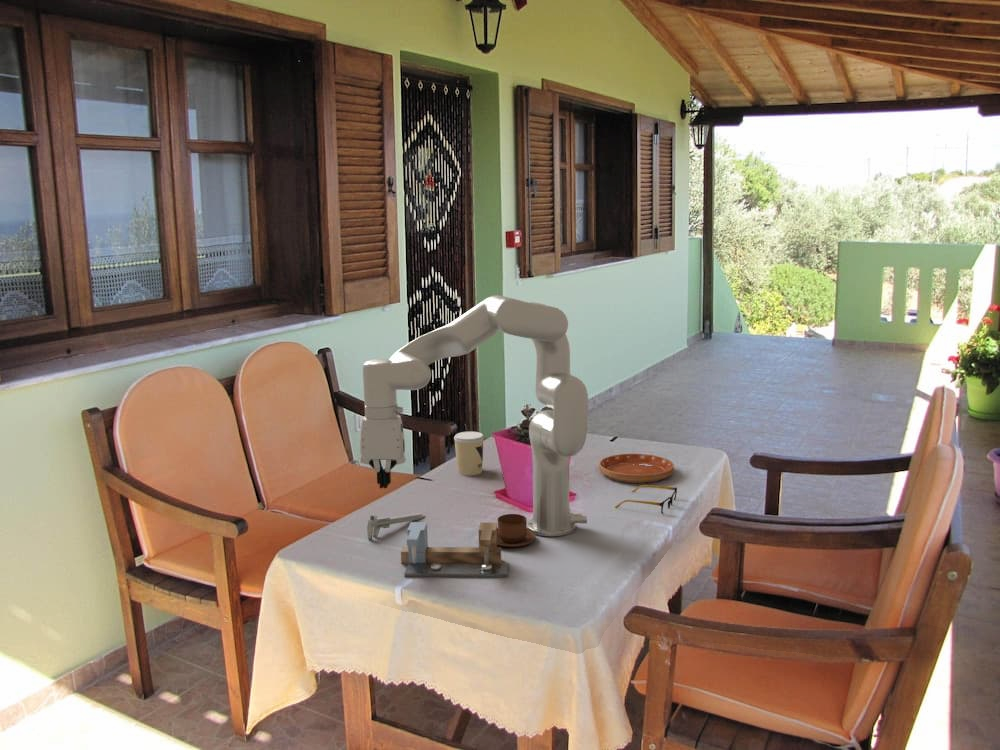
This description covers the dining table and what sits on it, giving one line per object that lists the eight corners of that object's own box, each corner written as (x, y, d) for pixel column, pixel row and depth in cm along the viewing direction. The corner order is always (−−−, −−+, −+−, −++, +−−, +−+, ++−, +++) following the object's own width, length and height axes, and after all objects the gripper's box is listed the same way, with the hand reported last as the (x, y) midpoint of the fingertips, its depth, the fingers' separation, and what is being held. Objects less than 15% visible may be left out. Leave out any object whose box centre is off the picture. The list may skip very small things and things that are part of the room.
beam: (501, 557, 226) (500, 522, 224) (498, 576, 215) (498, 539, 213) (403, 556, 227) (402, 522, 226) (396, 575, 217) (394, 539, 215)
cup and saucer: (480, 538, 238) (480, 516, 237) (520, 529, 244) (520, 507, 243) (503, 554, 228) (503, 531, 227) (544, 544, 234) (544, 521, 233)
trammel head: (428, 555, 227) (426, 522, 225) (421, 574, 216) (420, 539, 214) (412, 555, 227) (410, 522, 225) (404, 574, 217) (403, 539, 215)
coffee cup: (484, 476, 288) (483, 439, 286) (454, 476, 288) (453, 439, 286) (485, 467, 297) (484, 430, 295) (455, 467, 297) (454, 431, 295)
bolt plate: (508, 566, 220) (508, 560, 220) (507, 577, 215) (507, 570, 214) (408, 566, 222) (408, 559, 222) (404, 576, 216) (404, 570, 216)
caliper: (370, 541, 239) (369, 517, 237) (367, 540, 239) (366, 516, 238) (425, 517, 255) (424, 495, 253) (422, 516, 255) (421, 494, 254)
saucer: (600, 462, 300) (600, 451, 299) (672, 464, 297) (672, 453, 296) (597, 485, 278) (597, 473, 277) (675, 487, 275) (675, 475, 274)
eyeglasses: (664, 516, 252) (665, 502, 251) (614, 509, 259) (614, 495, 258) (679, 500, 265) (680, 487, 264) (631, 493, 271) (631, 480, 270)
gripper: (415, 408, 221) (417, 481, 224) (352, 408, 222) (356, 481, 225) (410, 416, 213) (412, 491, 217) (345, 416, 214) (349, 491, 218)
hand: (384, 486), depth 221 cm, fingers closed
